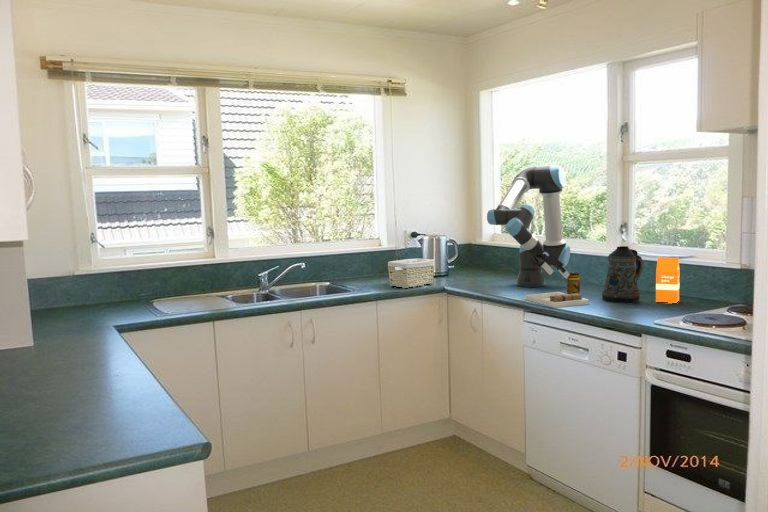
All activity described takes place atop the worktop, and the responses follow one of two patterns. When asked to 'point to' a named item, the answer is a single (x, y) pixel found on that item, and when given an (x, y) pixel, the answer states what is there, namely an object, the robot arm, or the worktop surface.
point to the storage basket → (411, 272)
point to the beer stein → (623, 276)
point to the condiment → (573, 283)
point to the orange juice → (667, 280)
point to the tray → (545, 300)
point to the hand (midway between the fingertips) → (559, 274)
